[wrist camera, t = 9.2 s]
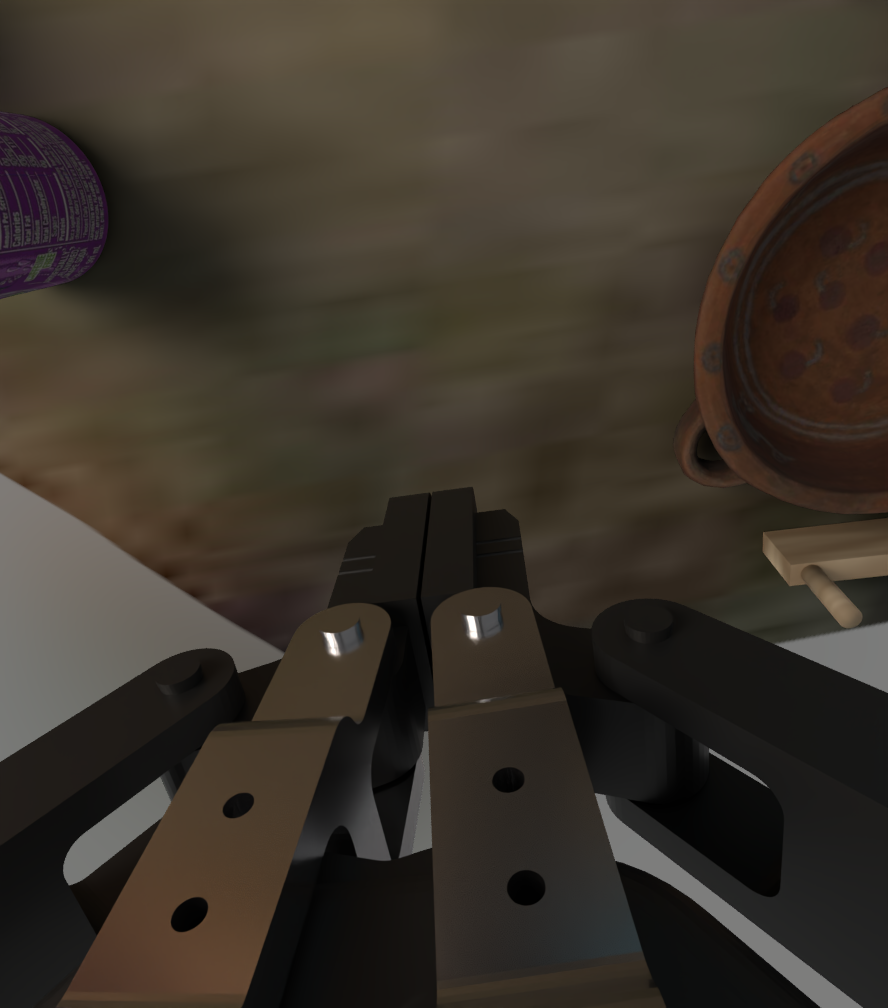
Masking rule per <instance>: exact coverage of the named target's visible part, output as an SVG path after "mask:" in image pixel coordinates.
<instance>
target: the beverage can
mask: <svg viewBox="0 0 888 1008" xmlns="http://www.w3.org/2000/svg"><path fill="white" fill-rule="evenodd" d="M107 232H108V208H107V202H106V197H105V194H104V190H103V187H102V185H101V182H100V180H99V177H98V175H97V173H96V171H95V170H94V168H93V166H92V165H91V163H90V161H89V160H88V159H87V157H86V156H85V155H84V153H83V152H82V151H81V150H80V149H79V147H78V146H77V145H76V144H75V143H74V142H73V141H72V140H71V139H69V138H68V137H67V136H66V135H65V134H63V133H62V132H61V131H59V130H58V129H56V128H55V127H53V126H51V125H50V124H48V123H46V122H43V121H41V120H39V119H36V118H33V117H30V116H26V115H21V114H14V113H7V112H0V299H2V298H6V297H10V296H14V295H18V294H22V293H26V292H30V291H35V290H39V289H43V288H47V287H51V286H55V285H59V284H63V283H67V282H70V281H72V280H75V279H76V278H78V277H80V276H82V275H83V274H84V273H86V272H87V271H88V270H89V269H90V268H91V267H92V266H93V265H94V264H95V262H96V261H97V259H98V258H99V256H100V254H101V252H102V250H103V248H104V245H105V242H106V238H107Z"/></svg>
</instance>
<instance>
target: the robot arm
mask: <svg viewBox="0 0 888 1008" xmlns="http://www.w3.org/2000/svg"><path fill="white" fill-rule="evenodd" d="M343 559H344V562H342V565H341V568H340V571H339V575H338V577H337V580H336V583H335V586H334V589H333V592H332V596H331V599H330V602H329V605H328V608H327V609H326V610H324V611H321V612H319V613H317V614H315V615H314V616H312V617H311V618H309V619H308V620H306V621H305V622H304V623H303V624H302V625H301V626H300V627H299V628H298V629H297V631H296V632H295V634H294V636H293V638H292V640H291V642H290V644H289V646H288V648H287V650H286V652H285V654H284V656H283V658H282V659H280V660H277V661H275V662H272V663H269V664H266V665H262V666H260V667H256V668H253V669H251V670H247V671H244V672H241V673H238V672H237V670H236V667H235V664H234V661H233V659H232V657H231V656H230V655H229V654H228V653H226V652H224V651H222V650H218V649H207V648H206V649H196V650H191V651H186V652H183V653H180V654H177V655H174V656H172V657H170V658H168V659H165V660H163V661H161V662H160V663H158V664H156V665H155V666H153V667H151V668H150V669H148V670H147V671H145V672H143V673H142V674H141V675H138V676H137V677H135V678H134V679H132V680H130V681H129V682H127V683H126V684H124V685H123V686H121V687H119V688H118V689H116V690H115V691H113V692H111V693H110V694H108V695H107V696H105V697H103V698H102V699H100V700H99V701H97V702H95V703H94V704H92V705H91V706H89V707H87V708H86V709H84V710H83V711H81V712H80V713H78V714H76V715H75V716H73V717H71V718H70V719H68V720H67V721H65V722H64V723H62V724H60V725H59V726H57V727H55V728H54V729H52V730H51V731H49V732H48V733H46V734H44V735H43V736H41V737H39V738H38V739H36V740H35V741H33V742H31V743H30V744H28V745H27V746H25V747H23V748H22V749H20V750H19V751H17V752H16V753H14V754H12V755H11V756H9V757H7V758H6V759H4V760H3V761H1V762H0V1008H820V1007H819V1006H818V1005H817V1004H816V1003H815V1002H813V1001H812V1000H811V999H810V998H809V997H807V996H806V995H805V994H804V993H803V992H802V991H800V990H799V989H798V988H797V987H796V986H795V985H793V984H792V983H791V982H790V981H789V980H787V979H786V978H785V977H784V976H783V975H782V974H780V973H779V972H778V971H777V970H776V969H774V968H773V967H772V966H771V965H770V964H769V963H767V962H766V961H765V960H764V959H763V958H762V957H760V956H759V955H758V954H757V953H755V952H754V951H753V950H752V949H751V948H750V947H749V946H747V945H746V944H745V943H744V942H743V941H742V940H740V939H739V938H738V937H737V936H736V935H734V934H733V933H732V932H731V931H730V930H729V929H727V928H726V927H725V926H724V925H722V924H721V923H720V922H719V921H718V920H717V919H716V918H714V917H713V916H712V915H711V914H710V913H708V912H707V911H706V910H705V909H703V908H702V907H701V906H700V905H698V904H697V903H696V902H695V901H693V900H692V899H691V898H689V897H688V896H686V895H685V894H683V893H682V892H680V891H679V890H677V889H676V888H674V887H673V886H671V885H670V884H668V883H666V882H664V881H662V880H660V879H658V878H657V877H655V876H653V875H651V874H649V873H647V872H645V871H642V870H640V869H637V868H635V867H632V866H629V865H626V864H624V863H621V862H617V861H615V859H614V856H613V852H612V849H611V846H610V842H609V839H608V836H607V832H606V829H605V826H604V823H603V819H602V816H601V813H600V810H599V806H598V803H597V800H596V796H595V793H598V794H604V795H606V799H607V802H608V805H609V807H610V809H611V810H612V812H613V813H614V814H615V816H616V817H617V818H619V819H620V820H621V821H622V822H623V823H624V824H625V825H627V826H628V827H629V828H631V829H632V830H633V831H635V832H636V833H637V834H639V835H640V836H641V837H642V838H644V839H645V840H646V841H648V842H649V843H650V844H651V845H653V846H654V847H655V848H657V849H658V850H659V851H661V852H662V853H663V854H664V855H666V856H667V857H668V858H670V859H671V860H672V861H673V862H675V863H676V864H677V865H679V866H680V867H681V868H683V869H684V870H685V871H687V872H688V873H689V874H690V875H692V876H693V877H694V878H696V879H697V880H699V881H700V882H701V883H702V884H703V885H705V886H706V887H707V888H709V889H710V890H711V891H712V892H714V893H715V894H716V895H718V896H719V897H720V898H722V899H723V900H724V901H725V902H727V903H728V904H729V905H731V906H732V907H733V908H734V909H736V910H737V911H738V912H740V913H741V914H742V915H744V916H745V917H746V918H747V919H749V920H750V921H751V922H753V923H754V924H755V925H757V926H758V927H759V928H760V929H762V930H763V931H764V932H766V933H767V934H768V935H770V936H771V937H772V938H774V939H775V940H776V941H777V942H779V943H780V944H781V945H783V946H784V947H785V948H786V949H788V950H789V951H790V952H792V953H793V954H794V955H795V956H797V957H798V958H799V959H801V960H802V961H803V962H805V963H806V964H807V965H809V966H810V967H811V968H812V969H814V970H815V971H816V972H818V973H819V974H820V975H822V976H823V977H824V978H825V979H827V980H828V981H829V982H831V983H832V984H833V985H834V986H836V987H837V988H839V989H840V990H841V991H842V992H844V993H845V994H846V995H847V996H849V997H850V998H851V999H853V1000H854V1001H855V1002H856V1003H858V1004H859V1005H861V1006H862V1007H863V1008H888V693H886V692H884V691H882V690H879V689H877V688H875V687H872V686H870V685H868V684H865V683H863V682H861V681H858V680H856V679H854V678H851V677H849V676H847V675H844V674H842V673H840V672H837V671H835V670H833V669H830V668H828V667H826V666H824V665H821V664H819V663H817V662H814V661H812V660H809V659H807V658H805V657H803V656H800V655H798V654H796V653H793V652H791V651H789V650H786V649H784V648H782V647H779V646H777V645H775V644H772V643H770V642H768V641H765V640H763V639H761V638H758V637H756V636H754V635H751V634H749V633H747V632H744V631H742V630H740V629H737V628H735V627H733V626H730V625H728V624H726V623H723V622H721V621H719V620H717V619H714V618H712V617H710V616H707V615H705V614H703V613H700V612H698V611H696V610H693V609H691V608H689V607H686V606H684V605H681V604H678V603H676V602H671V601H667V600H661V599H635V600H629V601H625V602H621V603H618V604H615V605H613V606H611V607H609V608H607V609H605V610H604V611H603V612H602V613H600V614H599V615H598V616H597V618H596V619H595V621H594V622H593V625H592V629H587V628H577V627H570V626H565V625H561V624H558V623H555V622H552V621H550V620H548V619H546V618H544V617H543V616H542V615H540V614H539V613H538V612H537V611H536V610H535V609H534V607H533V606H532V604H531V601H530V596H529V589H528V582H527V575H526V568H525V562H524V555H523V548H522V541H521V534H520V528H519V521H518V520H517V519H516V518H515V517H513V516H512V515H511V514H510V513H509V512H507V511H506V510H505V509H502V510H495V511H487V512H479V513H477V508H476V502H475V496H474V491H473V487H467V488H459V489H452V490H444V491H437V492H433V493H432V496H431V494H430V493H423V494H415V495H408V496H400V497H393V498H390V499H389V502H388V507H387V511H386V515H385V519H384V523H383V525H381V526H373V527H365V528H363V529H362V530H361V531H360V532H359V533H358V534H357V535H356V536H355V537H354V538H353V539H352V540H351V541H350V542H349V543H348V546H347V549H346V552H345V555H344V558H343ZM424 731H428V733H429V734H428V735H429V762H430V763H429V764H430V795H431V823H432V824H431V825H432V848H430V849H427V850H423V851H420V852H417V853H414V854H412V850H413V843H414V838H415V831H416V825H417V819H418V813H419V807H420V801H421V795H422V789H423V783H424V777H425V770H424V764H423V759H422V755H421V752H422V747H423V737H424ZM709 748H710V749H712V750H713V751H715V752H717V753H718V754H720V755H722V756H723V757H725V758H727V759H728V760H730V761H732V762H733V763H735V764H737V765H739V766H740V767H742V768H744V769H745V770H747V771H749V772H750V773H752V774H753V775H755V776H756V777H758V778H759V779H760V780H762V781H763V782H764V783H765V784H766V785H767V786H768V787H769V788H768V787H766V786H764V785H763V784H761V783H759V782H757V781H756V780H754V779H753V778H751V777H749V776H748V775H746V774H744V773H743V772H741V771H739V770H737V769H736V768H734V767H733V766H731V765H729V764H727V763H726V762H724V761H722V760H721V759H719V758H717V757H716V756H714V755H713V754H711V753H709ZM159 777H161V779H162V782H163V784H164V786H165V788H166V791H167V793H168V795H169V798H170V799H171V804H170V806H169V807H168V809H167V811H166V813H165V814H164V816H163V817H162V818H161V819H160V820H159V821H157V822H156V823H155V824H153V825H152V826H151V827H150V828H148V829H147V830H146V831H145V832H143V833H142V834H141V835H139V836H138V837H137V838H136V839H134V840H133V841H132V842H131V843H129V844H128V845H127V846H126V847H124V848H123V849H122V850H120V851H119V852H118V853H117V854H115V856H113V857H112V858H110V859H109V860H108V861H107V862H105V863H104V864H103V865H101V866H100V867H99V868H98V869H96V870H95V871H94V872H93V873H91V874H90V875H89V876H88V877H86V878H85V879H83V880H82V881H80V882H78V883H75V884H73V885H68V883H67V882H66V880H65V878H64V874H63V864H64V860H65V858H66V855H67V853H68V851H69V849H70V848H71V846H72V845H73V844H74V842H75V841H76V840H77V839H78V838H79V837H80V836H81V835H82V834H84V833H85V832H86V831H88V830H89V829H90V828H92V827H93V826H94V825H96V824H97V823H98V822H100V821H101V820H102V819H104V818H105V817H106V816H108V815H109V814H110V813H112V812H113V811H114V810H116V809H117V808H118V807H120V806H121V805H122V804H124V803H125V802H127V801H128V800H129V799H131V798H132V797H133V796H135V795H136V794H137V793H139V792H140V791H141V790H142V789H144V788H145V787H147V786H148V785H149V784H151V783H152V782H153V781H155V780H156V779H157V778H159Z"/></svg>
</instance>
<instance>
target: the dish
mask: <svg viewBox="0 0 888 1008" xmlns="http://www.w3.org/2000/svg"><path fill="white" fill-rule="evenodd" d="M694 387H695V395H696V399H695V400H694V402H693V403H692V404H691V406H690V407H689V408H688V409H687V411H686V412H685V413H684V415H683V416H682V418H681V420H680V422H679V424H678V425H677V427H676V431H675V435H674V439H673V447H674V451H675V455H676V457H677V460H678V462H679V464H680V466H681V468H682V471H683V473H684V474H685V475H686V476H687V477H689V478H690V479H691V480H693V481H695V482H697V483H699V484H701V485H703V486H710V487H720V488H725V487H731V486H737V485H742V484H745V483H748V484H750V485H752V486H753V487H755V488H757V489H759V490H761V491H763V492H765V493H767V494H770V495H772V496H774V497H776V498H778V499H779V500H782V501H785V502H788V503H791V504H794V505H797V506H800V507H804V508H808V509H813V510H817V511H824V512H832V513H838V514H869V513H883V512H888V87H886V88H884V89H882V90H881V91H879V92H877V93H875V94H874V95H872V96H870V97H868V98H867V99H865V100H863V101H862V102H860V103H858V104H856V105H854V106H852V107H851V108H849V109H848V110H846V111H844V112H842V113H841V114H839V115H837V116H836V117H834V118H833V119H831V120H830V121H828V122H827V123H826V124H824V125H823V126H822V127H820V128H819V129H818V130H816V131H815V132H814V133H813V134H812V135H810V136H809V137H808V138H807V139H805V140H804V141H803V142H802V143H801V144H800V145H798V146H797V147H796V148H795V149H794V150H793V151H792V152H791V153H790V154H789V155H788V156H787V157H786V158H785V159H784V160H783V161H782V162H781V163H780V164H779V165H778V166H777V167H776V168H775V169H774V170H773V171H772V172H771V173H770V174H769V176H768V177H767V178H766V179H765V181H764V182H763V183H762V184H761V186H760V187H759V189H758V190H757V192H756V193H755V195H754V196H753V197H752V199H751V200H750V201H749V203H748V204H747V205H746V207H745V208H744V209H743V211H742V212H741V213H740V215H739V216H738V218H737V220H736V222H735V224H734V226H733V228H732V230H731V231H730V233H729V235H728V237H727V239H726V240H725V242H724V244H723V246H722V248H721V250H720V252H719V254H718V256H717V258H716V261H715V264H714V266H713V269H712V271H711V273H710V275H709V277H708V280H707V284H706V287H705V291H704V294H703V297H702V301H701V304H700V309H699V314H698V319H697V326H696V332H695V345H694ZM706 430H707V432H708V434H709V437H710V439H711V441H712V443H713V445H714V447H715V449H716V451H717V452H718V454H719V455H720V456H721V457H722V460H715V461H710V460H704V459H701V458H698V456H697V445H698V441H699V439H700V437H701V435H702V434H703V433H704V432H705V431H706Z"/></svg>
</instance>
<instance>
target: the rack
mask: <svg viewBox="0 0 888 1008" xmlns="http://www.w3.org/2000/svg"><path fill="white" fill-rule="evenodd" d="M763 553H764V554H765V555H766V556H767V558H768V559H769V560H770V562H771V563H772V564H773V565H774V567H775V568H776V569H777V570H778V572H779V573H780V574H781V575H782V577H783V578H784V579H785V581H786V582H787V583H788V584H789V586H793V585H803V584H807V585H808V587H809V588H810V589H811V590H812V591H813V593H814V594H815V595H816V596H817V597H818V599H819V600H820V601H821V602H822V603H823V605H824V606H825V607H826V608H827V609H828V611H829V612H830V613H831V614H832V615H833V617H834V618H835V619H836V620H837V621H838V623H839V624H840V625H841V626H842V627H844V628H852V627H855V626H857V625H858V624H859V623H860V622H861V621H862V613H861V612H860V611H859V610H858V608H857V607H856V606H855V605H854V604H853V603H852V602H851V601H850V600H849V599H848V597H847V596H846V595H845V594H844V593H843V592H842V591H841V590H840V589H839V588H838V586H837V585H836V584H835V583H834V582H833V581H840V580H849V579H858V578H868V577H877V576H886V575H888V518H882V519H873V520H865V521H856V522H847V523H838V524H830V525H821V526H812V527H804V528H795V529H786V530H778V531H769V532H763Z"/></svg>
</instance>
